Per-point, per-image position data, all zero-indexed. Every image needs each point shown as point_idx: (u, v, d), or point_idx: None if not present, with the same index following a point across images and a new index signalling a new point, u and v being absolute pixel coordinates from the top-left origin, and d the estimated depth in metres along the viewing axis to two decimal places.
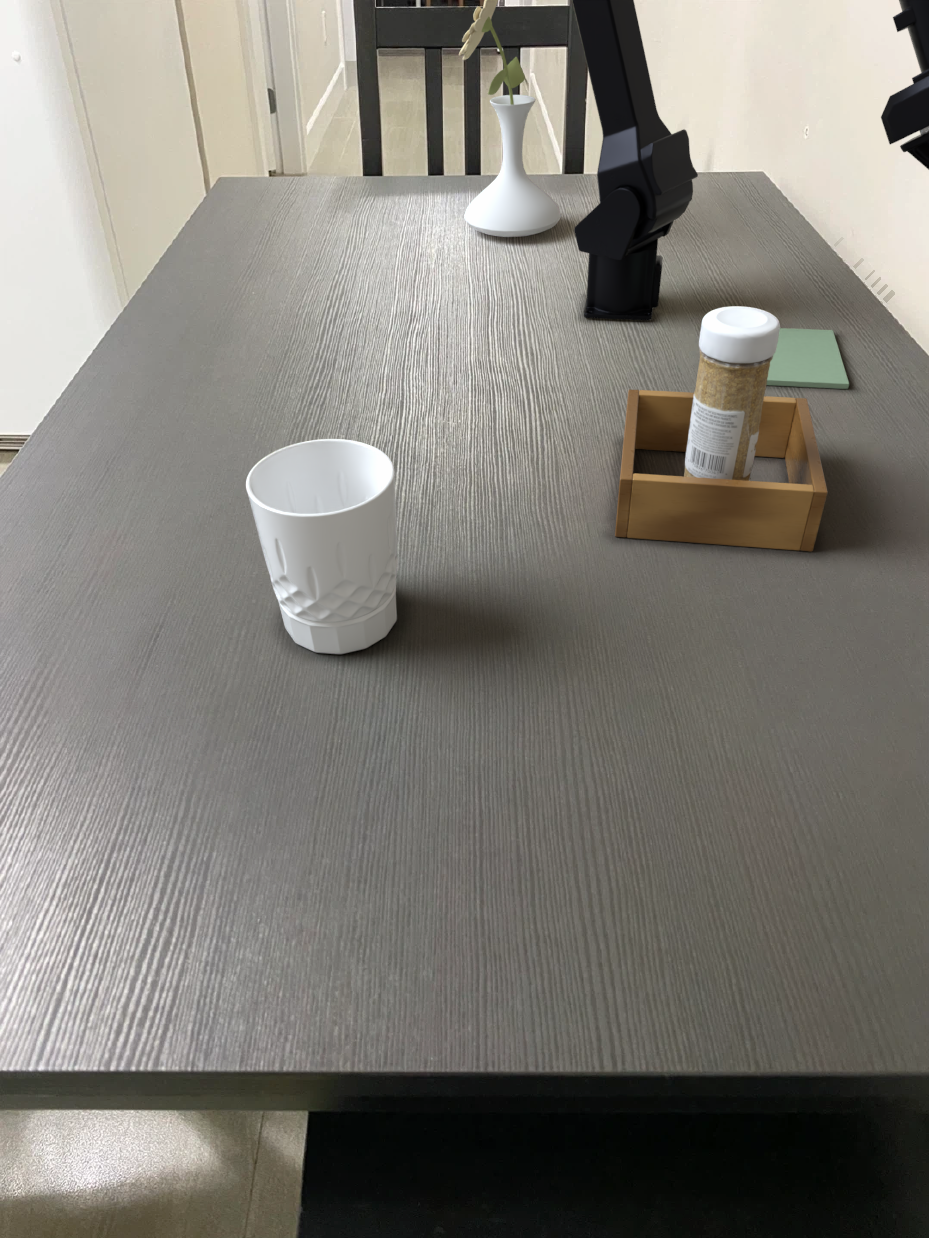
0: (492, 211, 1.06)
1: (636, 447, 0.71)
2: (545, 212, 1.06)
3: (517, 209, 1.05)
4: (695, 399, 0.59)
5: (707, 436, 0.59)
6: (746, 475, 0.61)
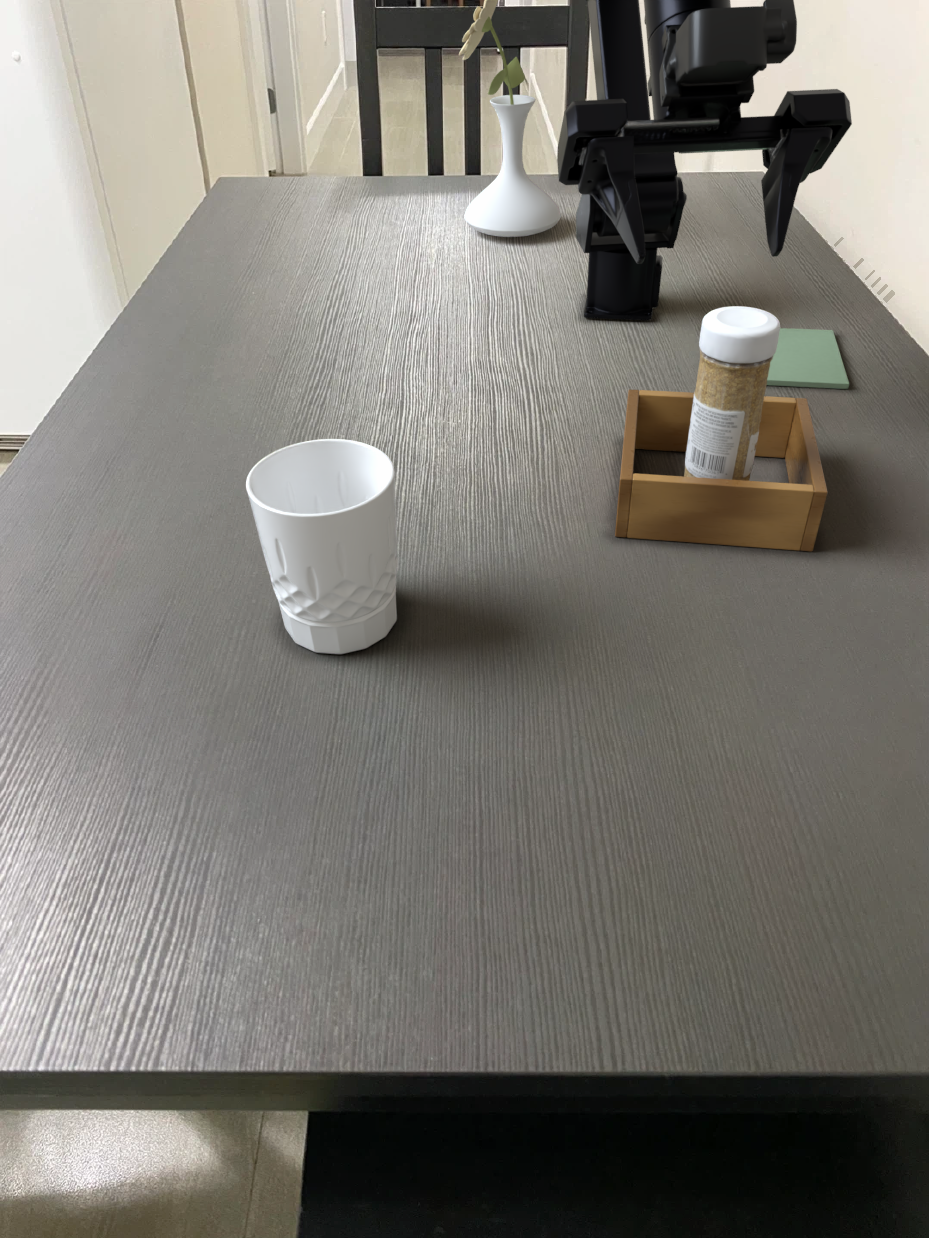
0: (492, 211, 1.06)
1: (636, 447, 0.71)
2: (545, 212, 1.06)
3: (517, 209, 1.05)
4: (695, 399, 0.59)
5: (707, 436, 0.59)
6: (746, 475, 0.61)
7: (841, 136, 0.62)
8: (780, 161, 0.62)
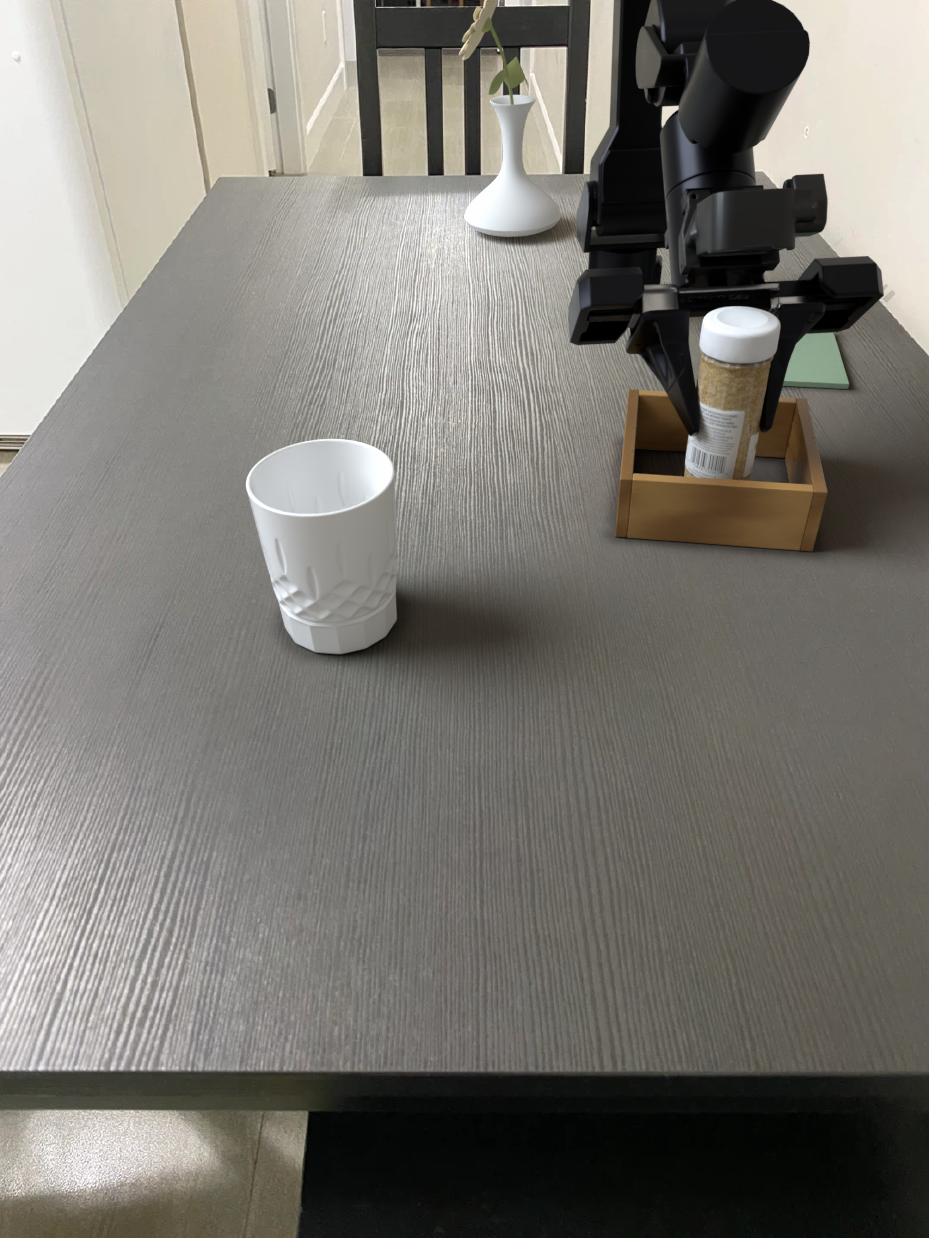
0: (492, 211, 1.06)
1: (636, 447, 0.71)
2: (545, 212, 1.06)
3: (517, 209, 1.05)
4: None
5: (708, 436, 0.59)
6: (746, 475, 0.61)
7: (872, 304, 0.59)
8: None
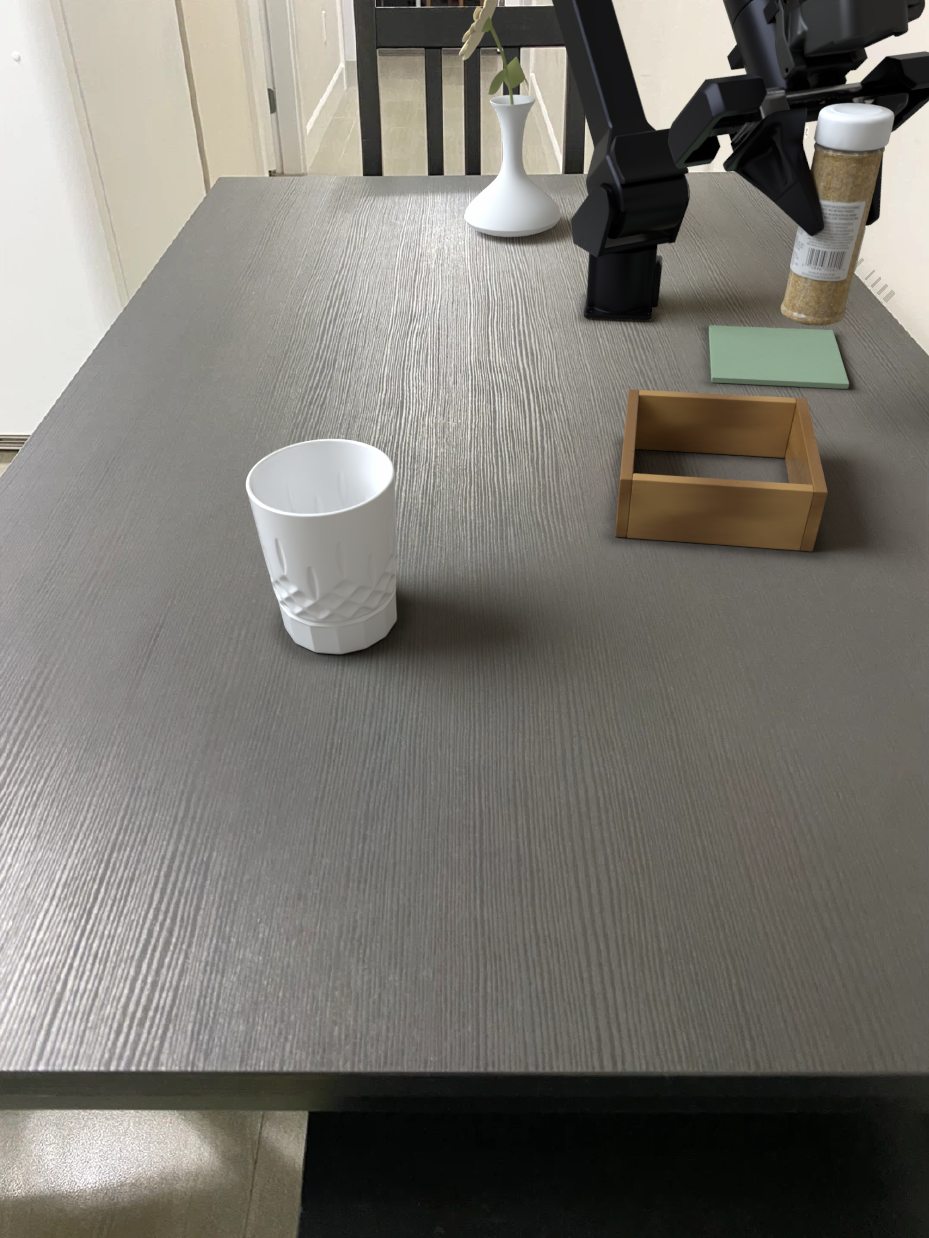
0: (492, 211, 1.06)
1: (636, 447, 0.71)
2: (545, 212, 1.06)
3: (517, 209, 1.05)
4: None
5: (829, 233, 0.62)
6: (854, 270, 0.65)
7: None
8: None
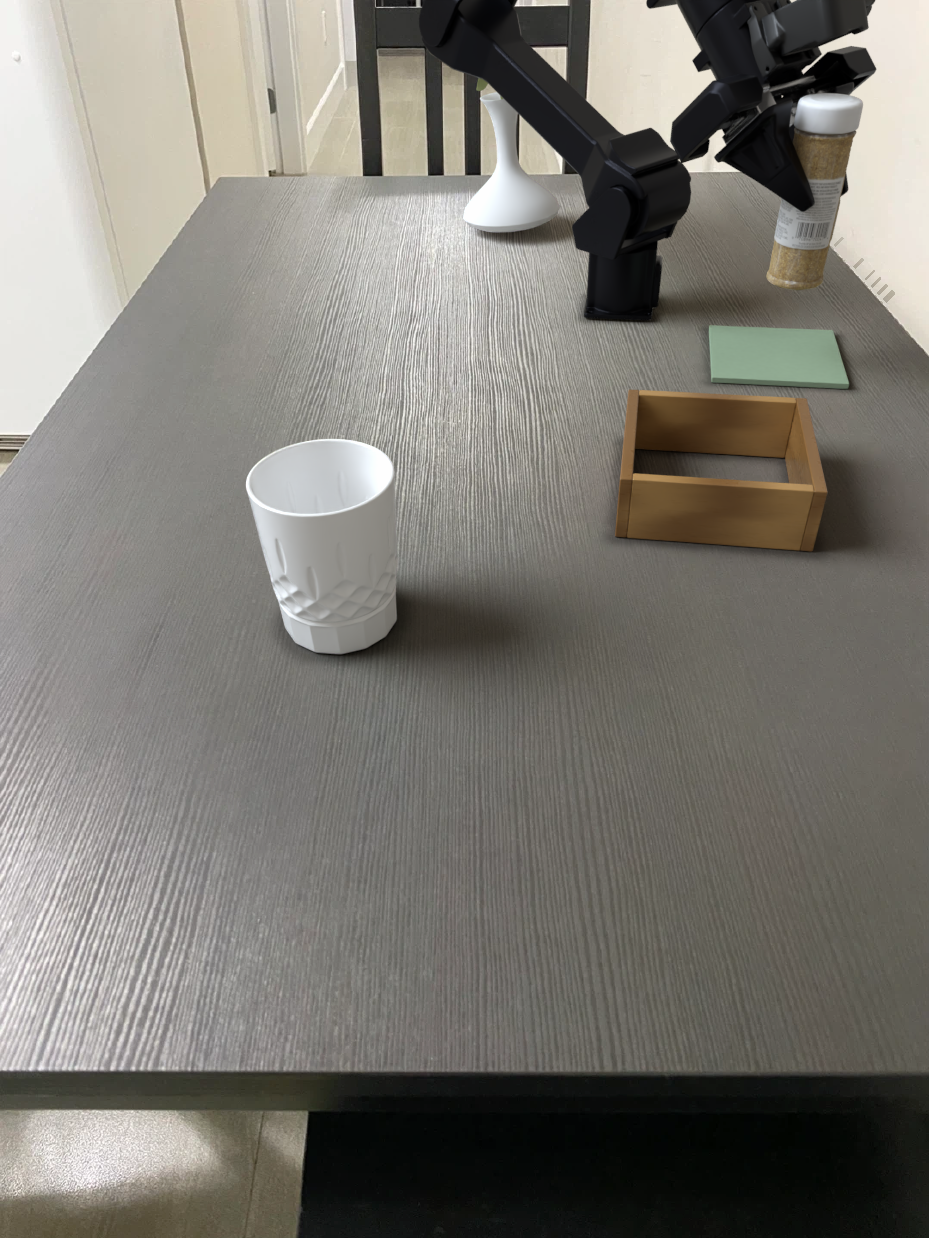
0: (490, 207, 1.06)
1: (636, 447, 0.71)
2: (543, 204, 1.06)
3: (514, 203, 1.05)
4: None
5: (817, 207, 0.71)
6: (831, 238, 0.74)
7: (859, 85, 0.75)
8: None
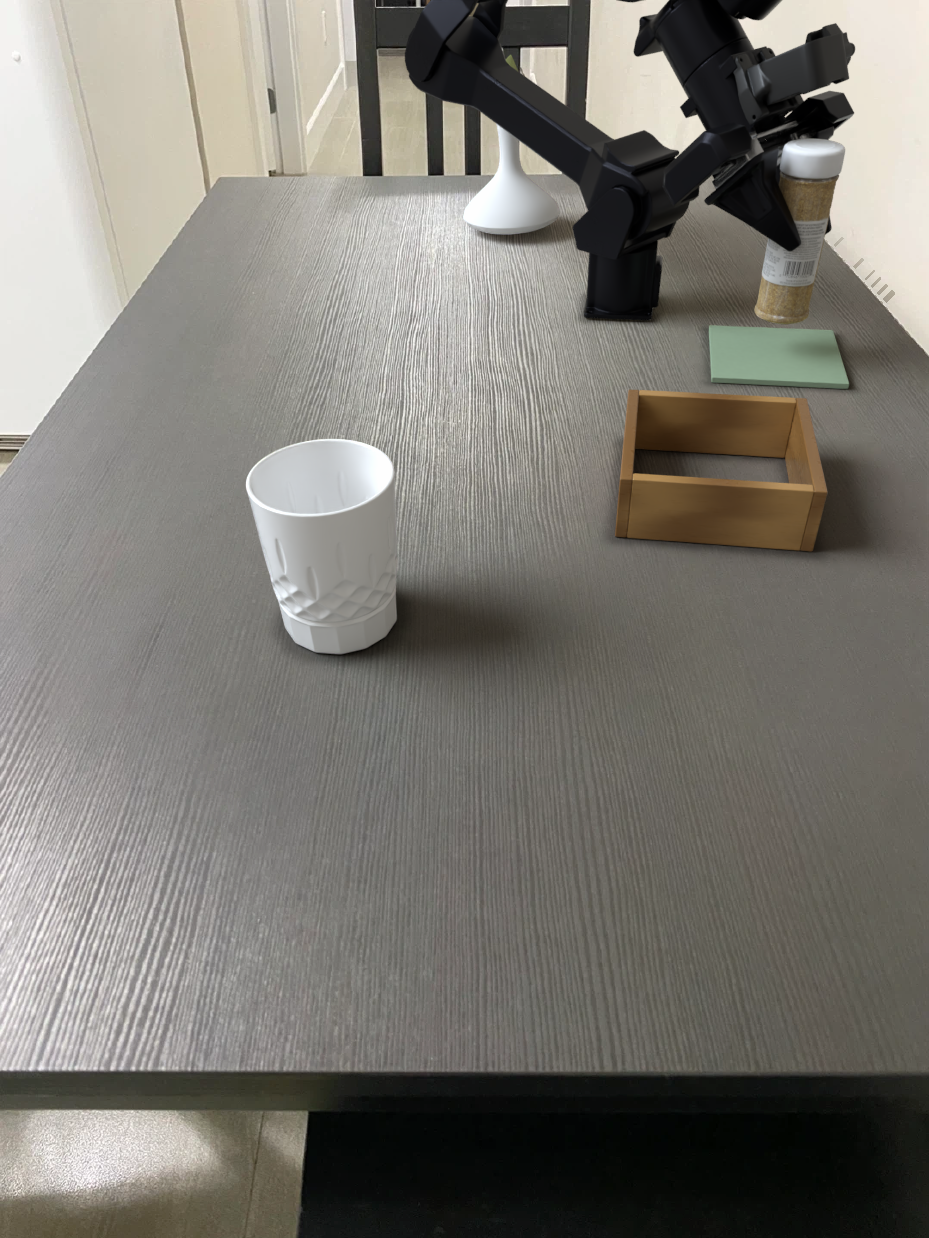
0: (490, 209, 1.06)
1: (636, 447, 0.71)
2: (543, 208, 1.06)
3: (514, 206, 1.05)
4: None
5: (803, 246, 0.74)
6: (816, 274, 0.77)
7: (838, 127, 0.78)
8: None
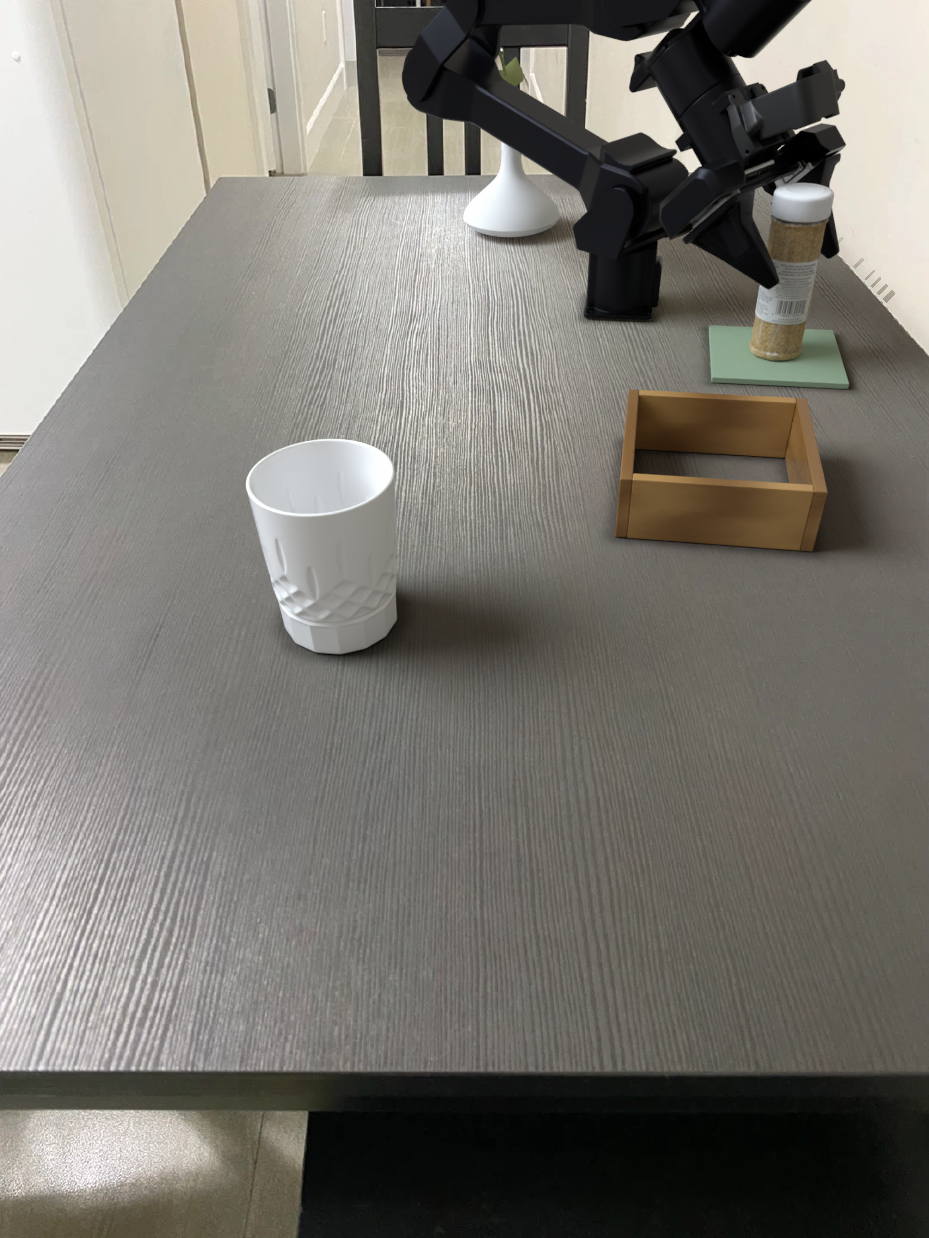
0: (490, 211, 1.06)
1: (636, 447, 0.71)
2: (543, 213, 1.06)
3: (515, 209, 1.05)
4: (779, 262, 0.75)
5: (795, 287, 0.76)
6: (808, 312, 0.79)
7: None
8: None
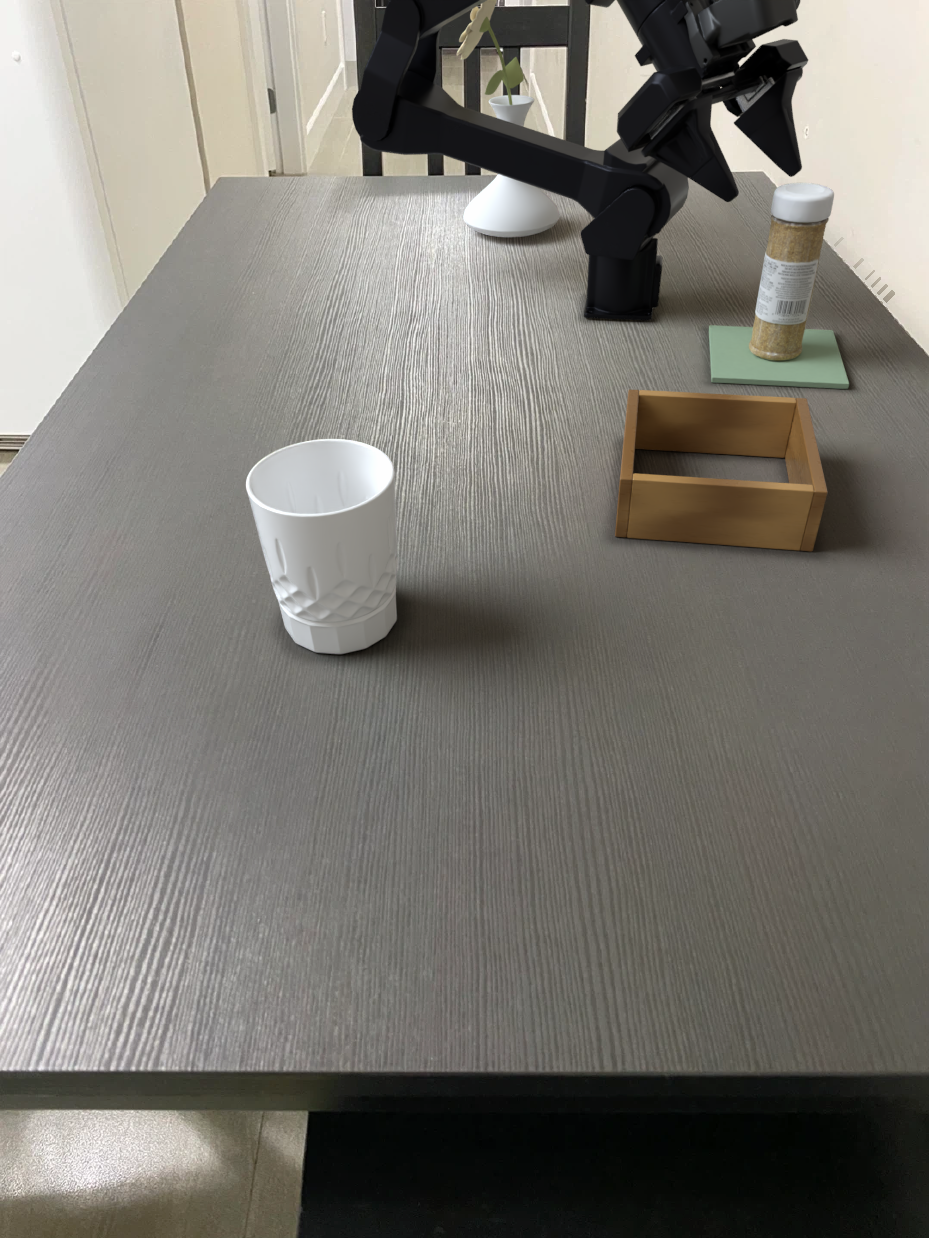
0: (490, 211, 1.06)
1: (636, 447, 0.71)
2: (543, 213, 1.06)
3: (515, 209, 1.05)
4: (779, 262, 0.75)
5: (795, 287, 0.76)
6: (808, 312, 0.79)
7: None
8: (773, 101, 0.77)
